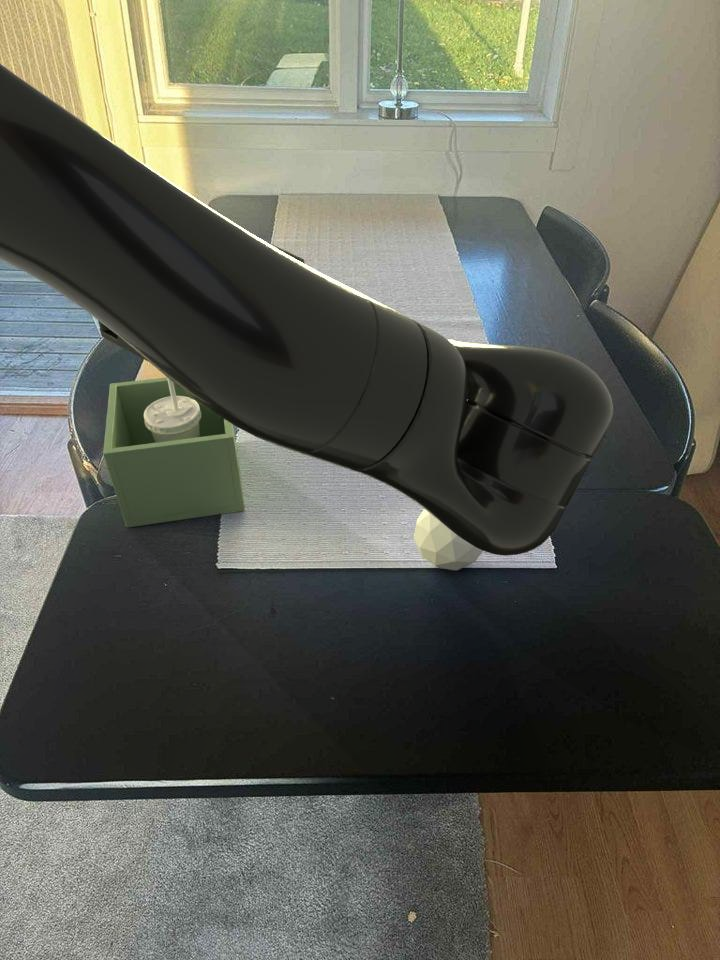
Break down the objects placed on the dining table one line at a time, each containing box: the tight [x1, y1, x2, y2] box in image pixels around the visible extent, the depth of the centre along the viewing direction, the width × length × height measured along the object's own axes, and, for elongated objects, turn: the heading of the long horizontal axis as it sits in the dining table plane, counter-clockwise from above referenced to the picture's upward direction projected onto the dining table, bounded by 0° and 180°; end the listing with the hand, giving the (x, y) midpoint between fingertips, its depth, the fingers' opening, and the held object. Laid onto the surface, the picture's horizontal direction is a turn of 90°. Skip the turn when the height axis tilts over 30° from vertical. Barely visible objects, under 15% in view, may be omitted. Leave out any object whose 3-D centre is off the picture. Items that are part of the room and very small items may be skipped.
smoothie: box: [144, 378, 201, 443], centre depth 81 cm, size 6×6×14 cm
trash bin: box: [102, 376, 246, 529], centre depth 83 cm, size 14×14×11 cm
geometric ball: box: [413, 508, 484, 572], centre depth 75 cm, size 8×8×8 cm
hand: (146, 264), depth 52 cm, fingers open, 8 cm apart
